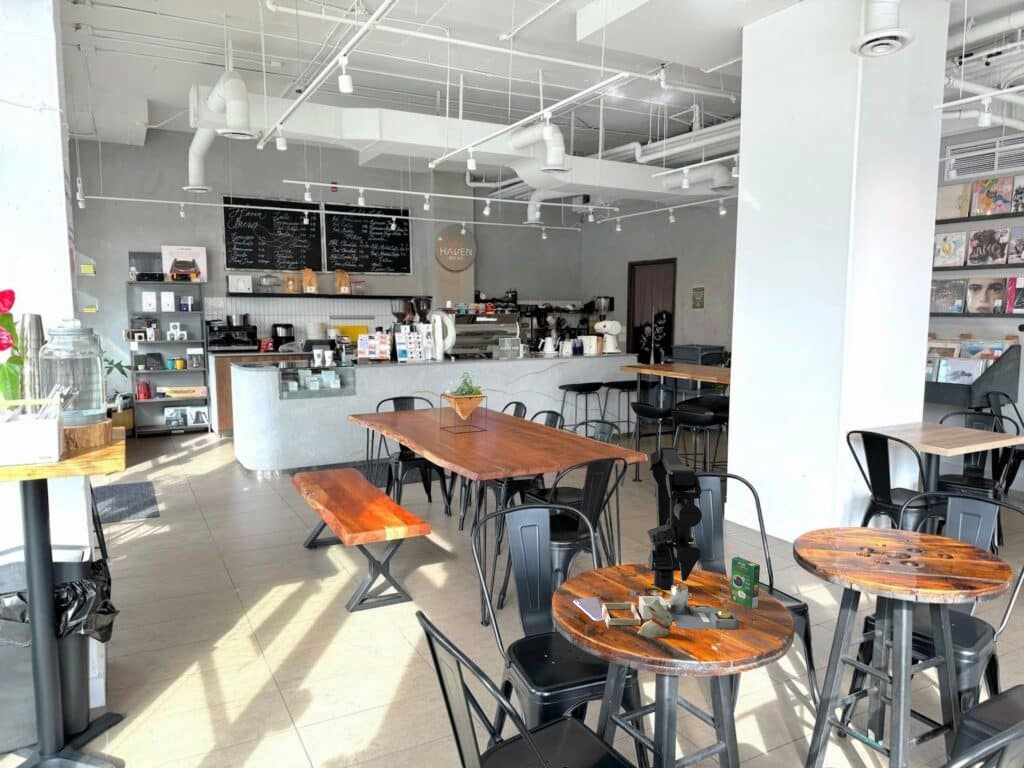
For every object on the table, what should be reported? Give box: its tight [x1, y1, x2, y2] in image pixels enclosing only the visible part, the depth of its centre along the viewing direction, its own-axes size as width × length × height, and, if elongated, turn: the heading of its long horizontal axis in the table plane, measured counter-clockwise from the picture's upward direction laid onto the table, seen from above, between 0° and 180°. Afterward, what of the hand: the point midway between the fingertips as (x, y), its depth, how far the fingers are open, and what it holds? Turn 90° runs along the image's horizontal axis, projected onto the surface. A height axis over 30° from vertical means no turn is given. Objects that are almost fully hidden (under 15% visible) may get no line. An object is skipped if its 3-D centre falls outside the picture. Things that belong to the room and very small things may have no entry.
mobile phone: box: [572, 596, 605, 622], centre depth 195 cm, size 8×1×15 cm
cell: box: [670, 582, 689, 615], centre depth 190 cm, size 4×4×7 cm
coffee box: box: [729, 556, 761, 610], centre depth 196 cm, size 8×3×13 cm, turn 29°
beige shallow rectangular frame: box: [601, 602, 642, 631], centre depth 187 cm, size 11×8×3 cm
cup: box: [638, 595, 668, 620], centre depth 188 cm, size 6×6×5 cm
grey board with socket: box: [666, 603, 740, 630], centre depth 187 cm, size 14×16×3 cm
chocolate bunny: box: [637, 599, 674, 639], centre depth 176 cm, size 6×8×10 cm
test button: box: [718, 608, 732, 619], centre depth 183 cm, size 3×3×2 cm
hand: (679, 574), depth 190 cm, fingers open, 9 cm apart
